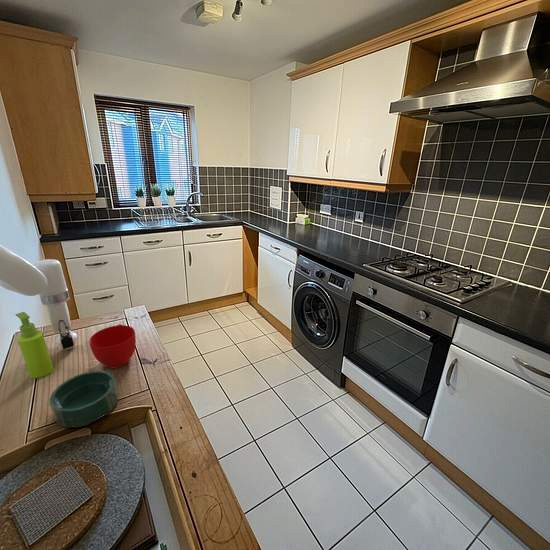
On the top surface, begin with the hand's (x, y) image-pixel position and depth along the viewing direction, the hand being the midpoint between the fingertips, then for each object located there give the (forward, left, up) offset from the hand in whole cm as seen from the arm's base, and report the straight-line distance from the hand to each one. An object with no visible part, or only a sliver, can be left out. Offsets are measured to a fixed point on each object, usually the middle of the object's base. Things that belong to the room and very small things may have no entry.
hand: (67, 342), depth 103 cm
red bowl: (+13, -17, -2) cm, 22 cm away
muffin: (0, 0, -2) cm, 2 cm away
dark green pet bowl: (+2, -35, -2) cm, 35 cm away
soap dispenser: (-8, -10, -2) cm, 13 cm away
